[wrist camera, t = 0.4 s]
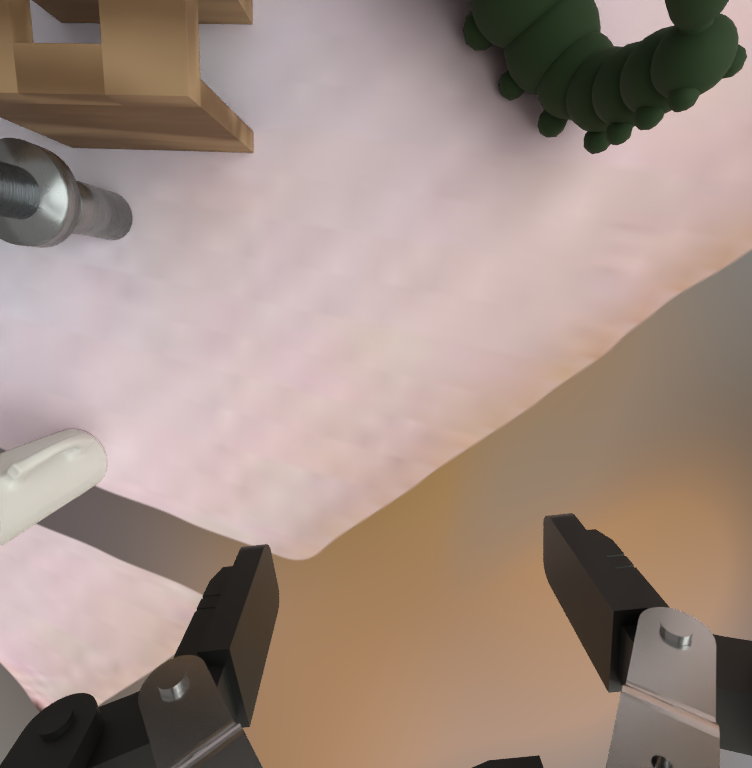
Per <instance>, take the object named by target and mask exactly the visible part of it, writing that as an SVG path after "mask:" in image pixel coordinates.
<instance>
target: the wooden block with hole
mask: <svg viewBox="0 0 752 768" xmlns="http://www.w3.org/2000/svg"><path fill="white" fill-rule="evenodd" d="M33 1H34V2H35V3H37V4H38V5H39V6H40V7H42V8H43V9H44V10H46V11H47V12H48V13H50V14H51V15H52V16H54V17H55V18H56V19H57V20H59V21H60V22H61V23H100V30H101V44H80V43H33V33H32V23H31V13H30V2H29V0H0V117H1V118H3V119H6V120H8V121H10V122H13V123H15V124H18V125H20V126H22V127H25V128H27V129H29V130H32V131H34V132H37V133H39V134H41V135H44V136H46V137H48V138H51V139H53V140H56V141H58V142H60V143H63V144H65V145H67V146H70V147H72V148H103V149H139V150H175V151H211V152H248V153H254V151H253V131H252V130H251V129H250V128H249V127H248V126H247V125H246V124H245V123H244V122H243V121H242V120H241V119H240V118H239V117H238V116H237V115H236V114H235V113H234V112H233V111H232V110H231V109H230V108H229V107H228V106H227V105H226V104H225V103H224V102H223V101H222V100H221V99H220V98H219V97H218V96H217V95H216V94H215V93H214V92H213V91H212V90H211V89H210V88H209V87H208V86H207V85H206V84H205V83H204V82H203V81H202V80H201V79H200V61H199V28H198V24H252V0H33Z"/></svg>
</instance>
